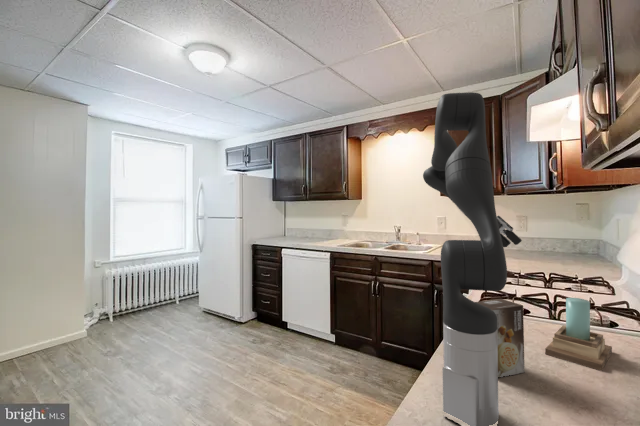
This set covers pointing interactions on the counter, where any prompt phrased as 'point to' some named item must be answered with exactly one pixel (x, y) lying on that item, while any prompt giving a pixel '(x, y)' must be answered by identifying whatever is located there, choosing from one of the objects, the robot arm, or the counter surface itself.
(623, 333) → the counter surface
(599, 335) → the base slab
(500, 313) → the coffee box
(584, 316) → the teal post
